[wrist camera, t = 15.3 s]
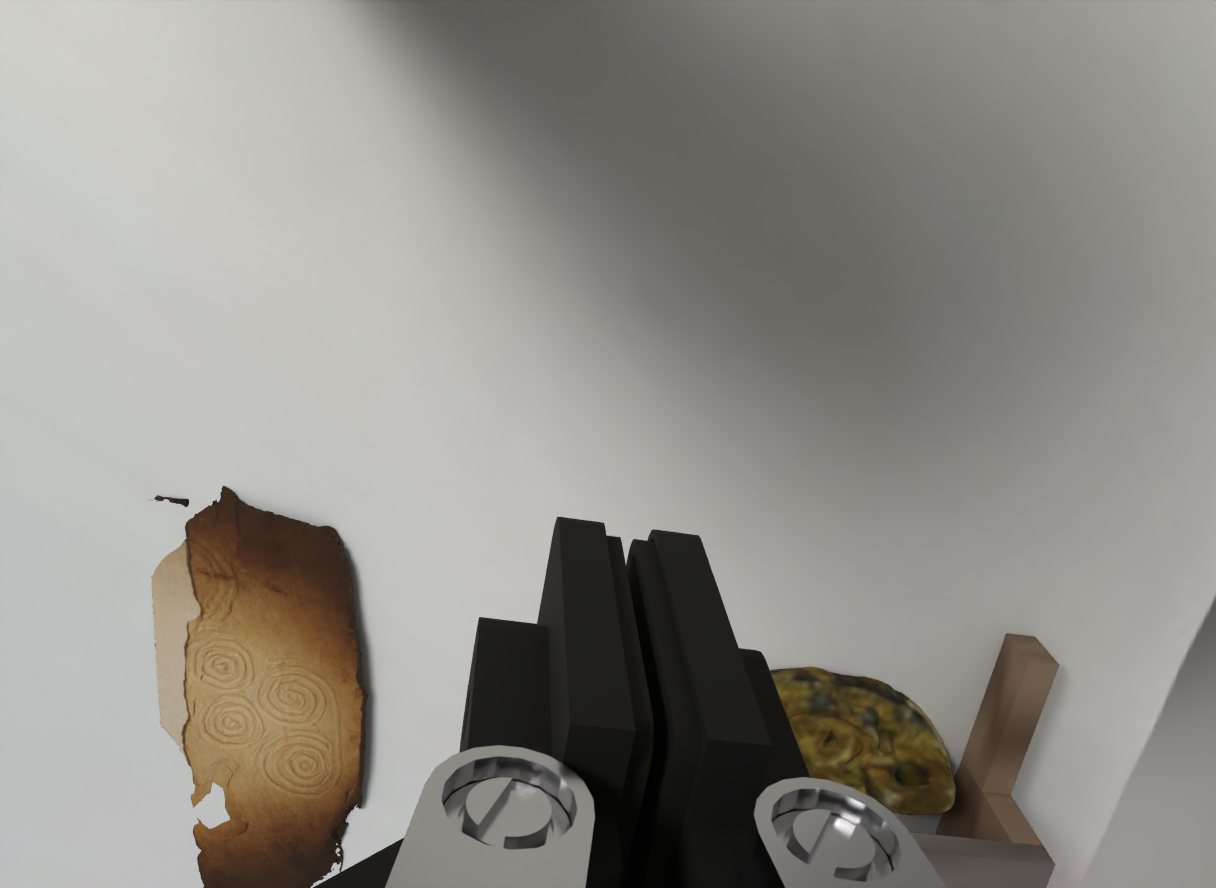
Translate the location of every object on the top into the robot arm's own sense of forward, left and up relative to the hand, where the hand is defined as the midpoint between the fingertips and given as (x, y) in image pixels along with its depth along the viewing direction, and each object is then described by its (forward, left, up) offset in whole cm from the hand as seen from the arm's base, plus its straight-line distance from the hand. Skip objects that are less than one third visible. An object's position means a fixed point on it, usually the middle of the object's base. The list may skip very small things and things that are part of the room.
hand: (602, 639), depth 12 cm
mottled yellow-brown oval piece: (+24, +17, -33) cm, 44 cm away
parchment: (+26, -10, -33) cm, 43 cm away
